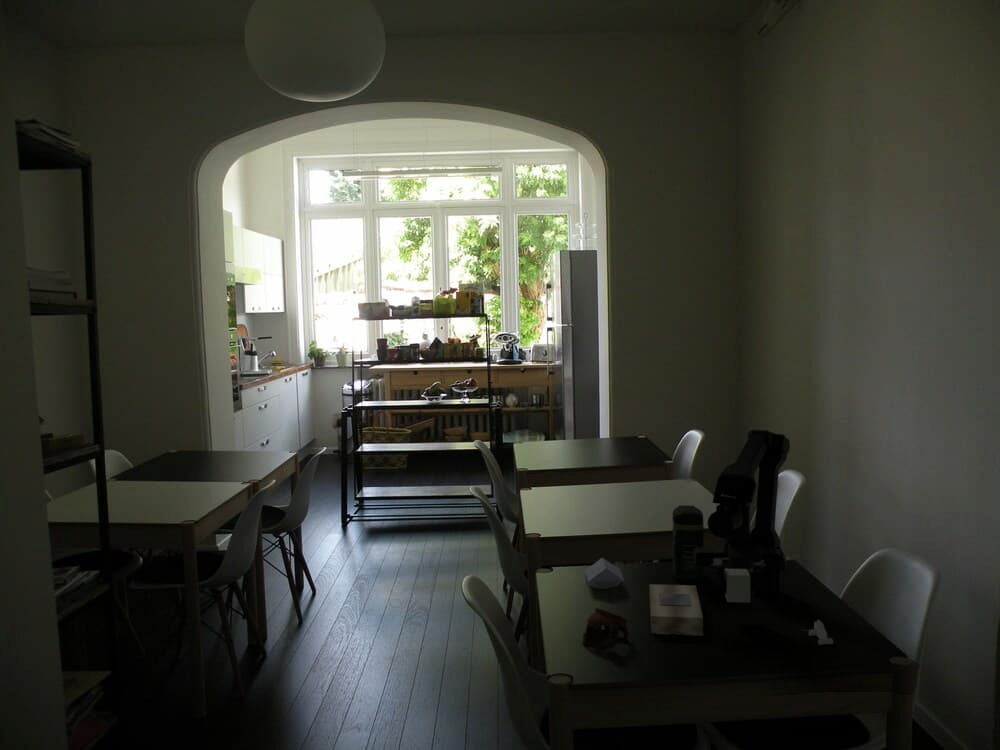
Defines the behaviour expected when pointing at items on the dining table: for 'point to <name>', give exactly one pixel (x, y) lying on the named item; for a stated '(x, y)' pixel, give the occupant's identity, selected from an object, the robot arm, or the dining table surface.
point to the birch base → (675, 610)
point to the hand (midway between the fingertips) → (737, 593)
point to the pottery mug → (607, 635)
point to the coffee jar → (687, 542)
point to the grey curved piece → (820, 633)
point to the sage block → (737, 585)
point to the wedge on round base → (603, 575)
